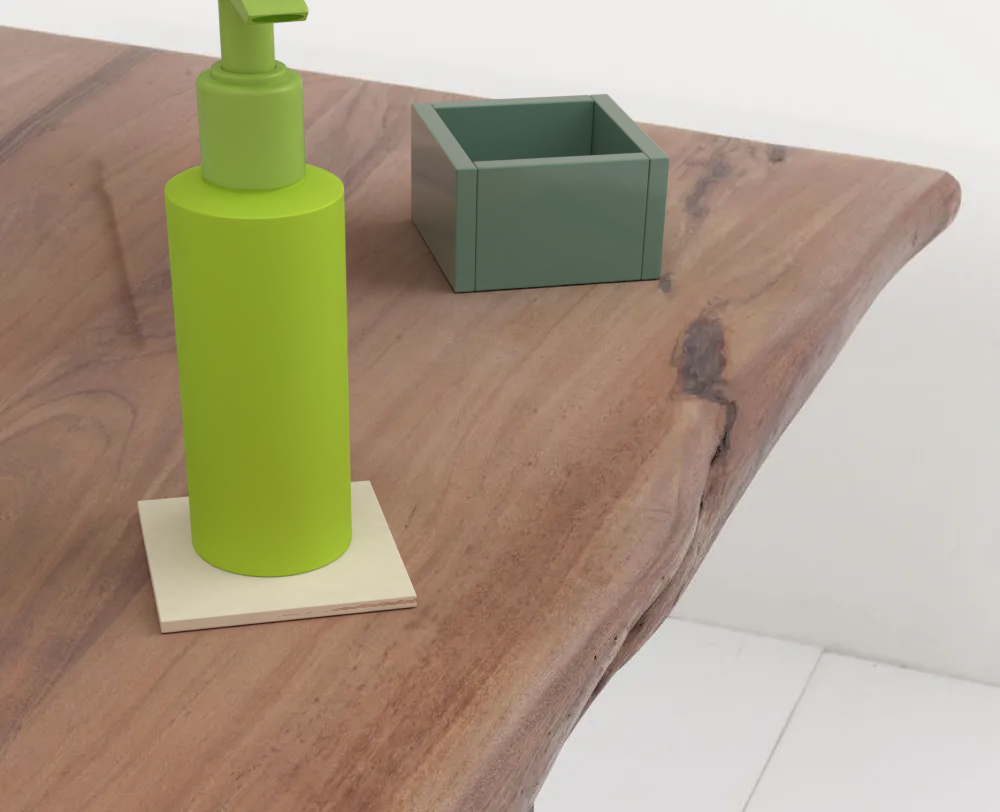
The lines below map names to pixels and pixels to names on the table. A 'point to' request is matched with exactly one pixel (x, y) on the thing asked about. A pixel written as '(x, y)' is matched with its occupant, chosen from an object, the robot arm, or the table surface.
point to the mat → (253, 599)
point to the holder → (537, 192)
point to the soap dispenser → (261, 315)
